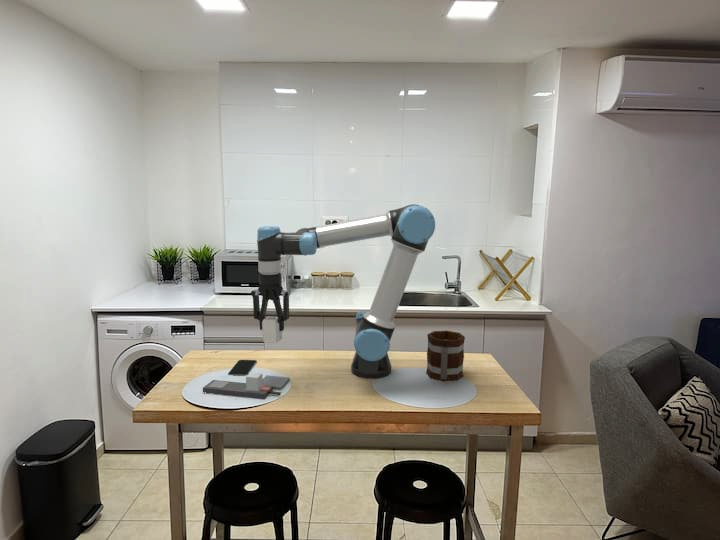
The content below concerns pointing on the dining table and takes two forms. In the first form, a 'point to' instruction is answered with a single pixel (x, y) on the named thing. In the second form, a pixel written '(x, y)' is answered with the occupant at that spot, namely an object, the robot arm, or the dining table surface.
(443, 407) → the dining table surface
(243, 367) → the smartphone
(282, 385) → the coaster
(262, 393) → the power strip
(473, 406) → the dining table surface
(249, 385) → the cube
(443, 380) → the mug
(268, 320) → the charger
